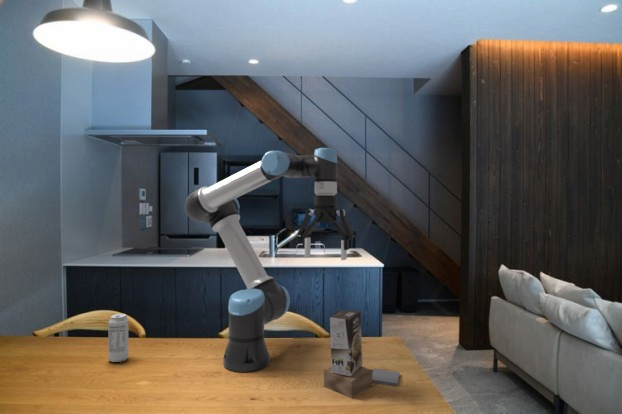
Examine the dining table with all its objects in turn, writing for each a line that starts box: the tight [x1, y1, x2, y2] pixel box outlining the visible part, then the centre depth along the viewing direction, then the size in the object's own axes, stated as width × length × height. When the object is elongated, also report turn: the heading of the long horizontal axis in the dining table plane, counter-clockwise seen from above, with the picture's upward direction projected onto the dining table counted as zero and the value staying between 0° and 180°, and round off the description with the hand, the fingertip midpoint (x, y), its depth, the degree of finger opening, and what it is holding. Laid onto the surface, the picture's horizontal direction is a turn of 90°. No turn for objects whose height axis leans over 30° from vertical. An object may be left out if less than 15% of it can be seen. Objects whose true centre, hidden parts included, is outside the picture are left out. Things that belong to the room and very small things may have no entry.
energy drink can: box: [107, 313, 129, 363], centre depth 133 cm, size 6×6×15 cm
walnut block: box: [323, 365, 373, 399], centre depth 115 cm, size 10×10×5 cm
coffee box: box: [329, 309, 363, 376], centre depth 116 cm, size 9×6×16 cm
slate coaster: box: [372, 368, 401, 387], centre depth 120 cm, size 8×8×1 cm
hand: (325, 258), depth 133 cm, fingers open, 13 cm apart
